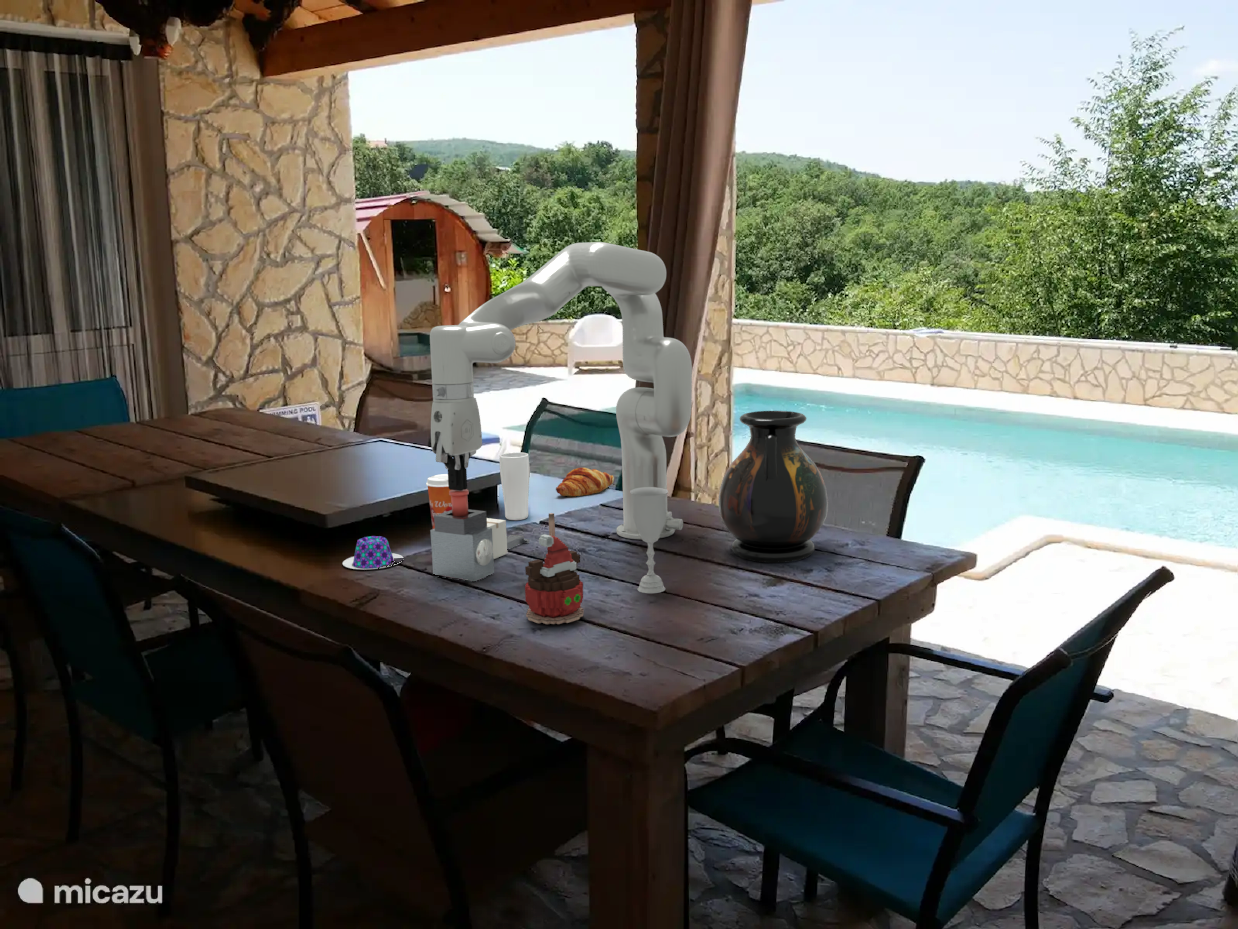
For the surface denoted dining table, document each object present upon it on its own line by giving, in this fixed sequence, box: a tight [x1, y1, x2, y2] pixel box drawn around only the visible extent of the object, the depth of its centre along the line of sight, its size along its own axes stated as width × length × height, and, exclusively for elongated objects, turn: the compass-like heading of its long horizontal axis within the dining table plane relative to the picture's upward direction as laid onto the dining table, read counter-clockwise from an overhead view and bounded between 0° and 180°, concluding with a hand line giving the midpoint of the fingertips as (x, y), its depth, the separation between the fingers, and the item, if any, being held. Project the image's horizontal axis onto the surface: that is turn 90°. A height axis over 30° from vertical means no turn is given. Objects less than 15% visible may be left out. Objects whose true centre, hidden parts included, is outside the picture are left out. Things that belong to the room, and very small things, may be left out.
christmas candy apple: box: [524, 512, 584, 625], centre depth 178 cm, size 11×9×18 cm
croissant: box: [555, 467, 615, 497], centre depth 277 cm, size 21×10×8 cm, turn 141°
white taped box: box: [487, 517, 508, 560], centre depth 218 cm, size 6×6×7 cm
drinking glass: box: [499, 451, 530, 521], centre depth 249 cm, size 7×7×15 cm
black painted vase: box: [718, 410, 829, 564], centre depth 212 cm, size 22×22×28 cm
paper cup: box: [425, 473, 452, 529], centre depth 231 cm, size 8×8×14 cm
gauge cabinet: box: [429, 508, 495, 582], centre depth 205 cm, size 10×7×12 cm
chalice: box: [630, 487, 669, 594], centre depth 192 cm, size 7×7×18 cm
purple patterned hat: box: [342, 535, 404, 571], centre depth 216 cm, size 12×12×5 cm
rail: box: [507, 534, 531, 549], centre depth 222 cm, size 5×16×2 cm, turn 150°
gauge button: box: [449, 488, 470, 517], centre depth 204 cm, size 4×4×5 cm
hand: (458, 489), depth 203 cm, fingers closed
